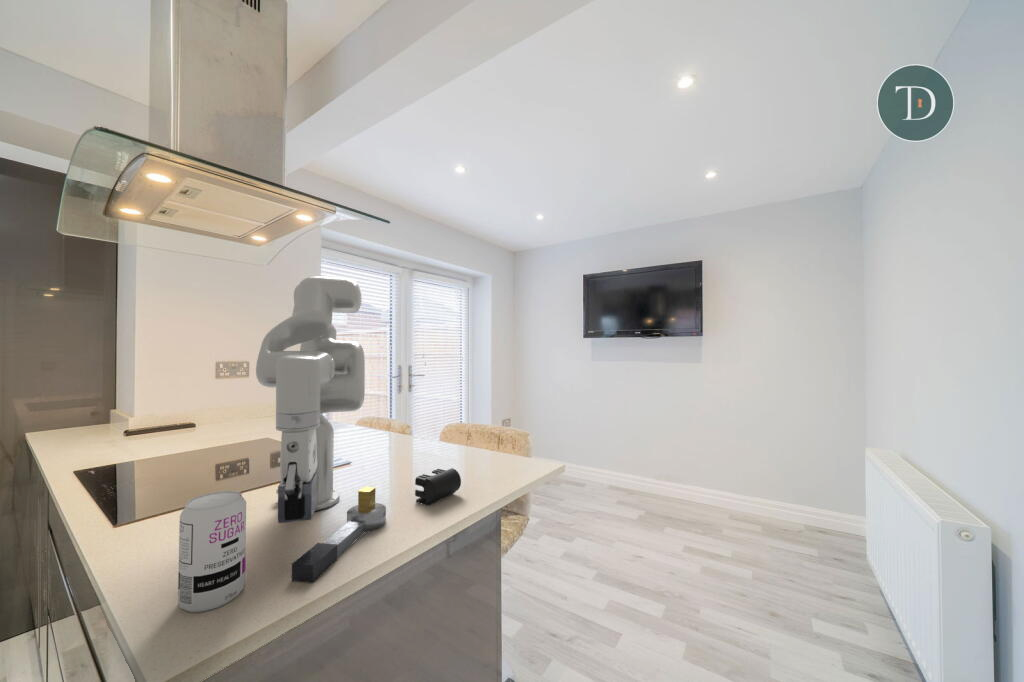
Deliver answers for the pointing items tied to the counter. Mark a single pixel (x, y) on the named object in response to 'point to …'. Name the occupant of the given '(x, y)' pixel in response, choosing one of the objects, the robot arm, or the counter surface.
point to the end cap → (437, 485)
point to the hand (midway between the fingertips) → (297, 510)
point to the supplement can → (211, 550)
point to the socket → (308, 495)
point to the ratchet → (341, 537)
